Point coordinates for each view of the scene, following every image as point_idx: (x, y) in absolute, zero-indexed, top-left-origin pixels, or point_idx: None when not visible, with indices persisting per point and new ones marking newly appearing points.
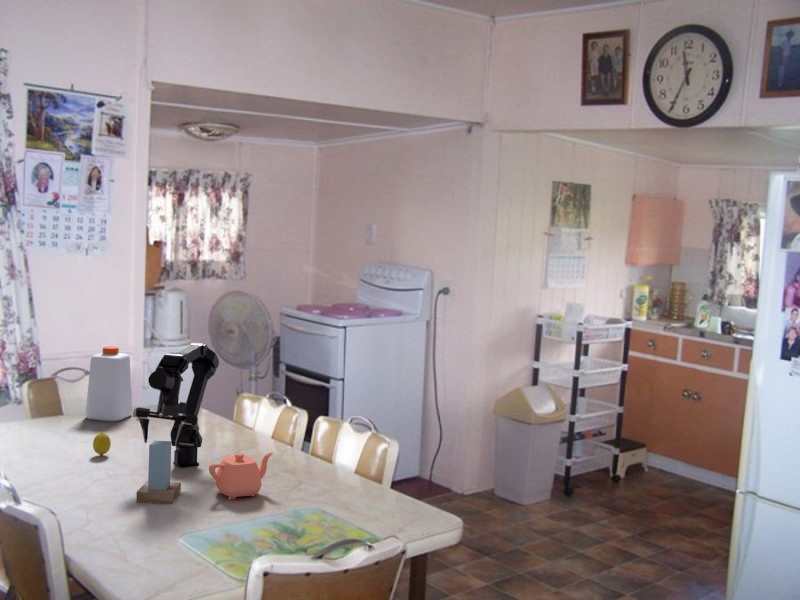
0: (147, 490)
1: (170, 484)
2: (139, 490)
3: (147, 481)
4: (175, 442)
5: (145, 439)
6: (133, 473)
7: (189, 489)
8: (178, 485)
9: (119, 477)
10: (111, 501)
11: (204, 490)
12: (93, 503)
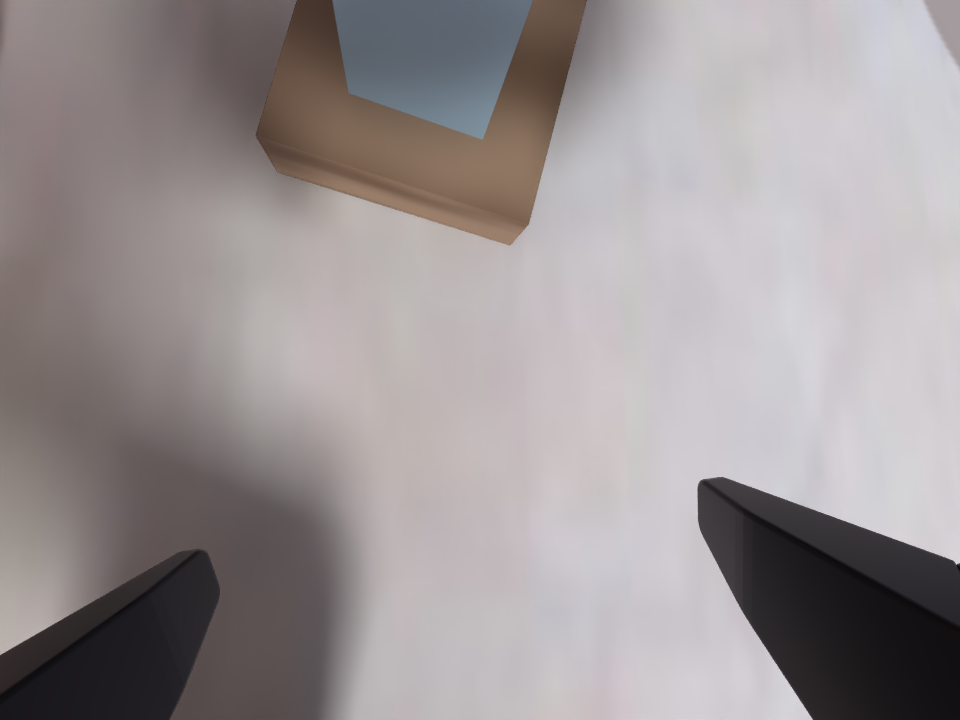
0: None
1: (345, 105)
2: (573, 14)
3: (522, 215)
4: (191, 663)
5: (758, 495)
6: (602, 651)
7: (206, 237)
8: (278, 65)
9: (684, 561)
10: (699, 91)
11: (84, 194)
12: (785, 78)
